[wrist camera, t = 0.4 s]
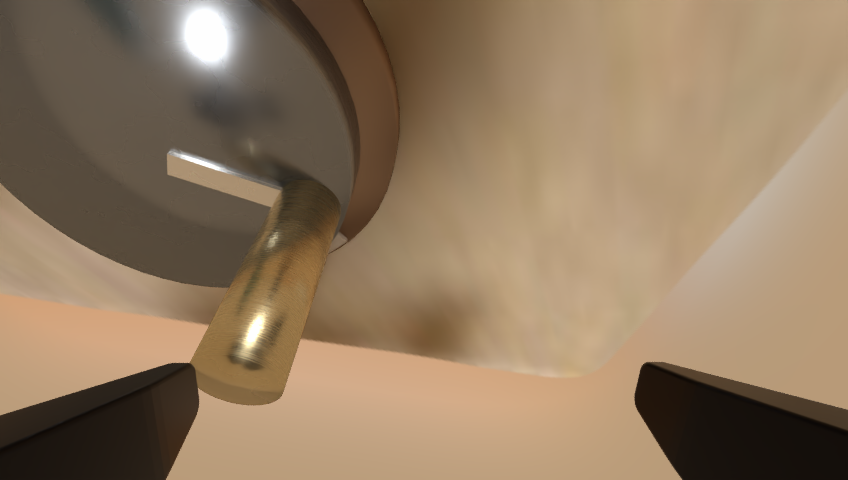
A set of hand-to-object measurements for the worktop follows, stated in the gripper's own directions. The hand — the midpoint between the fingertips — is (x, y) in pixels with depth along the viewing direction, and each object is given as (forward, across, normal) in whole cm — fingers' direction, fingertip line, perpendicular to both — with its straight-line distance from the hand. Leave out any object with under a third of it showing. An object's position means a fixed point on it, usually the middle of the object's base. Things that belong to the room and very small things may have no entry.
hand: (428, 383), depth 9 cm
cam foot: (+12, -10, +4) cm, 16 cm away
